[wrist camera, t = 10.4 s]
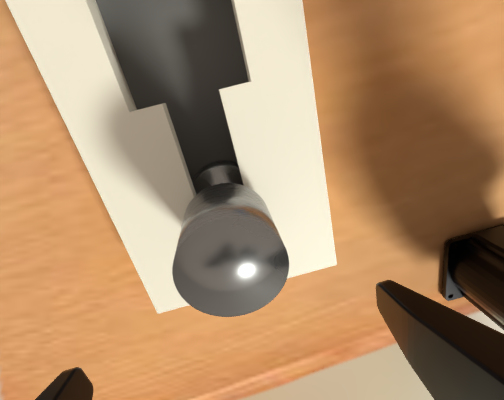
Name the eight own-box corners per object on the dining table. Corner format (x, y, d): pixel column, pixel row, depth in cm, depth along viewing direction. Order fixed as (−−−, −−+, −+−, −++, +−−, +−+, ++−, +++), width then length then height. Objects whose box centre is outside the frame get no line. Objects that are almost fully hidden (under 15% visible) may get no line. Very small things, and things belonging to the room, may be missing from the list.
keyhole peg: (263, 213, 20) (297, 299, 12) (201, 229, 20) (193, 328, 12) (248, 152, 18) (277, 205, 10) (181, 170, 18) (154, 237, 10)
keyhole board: (316, 234, 22) (336, 264, 18) (167, 275, 21) (157, 313, 18) (263, -99, 14) (280, -166, 10) (28, -45, 14) (-41, -94, 10)
